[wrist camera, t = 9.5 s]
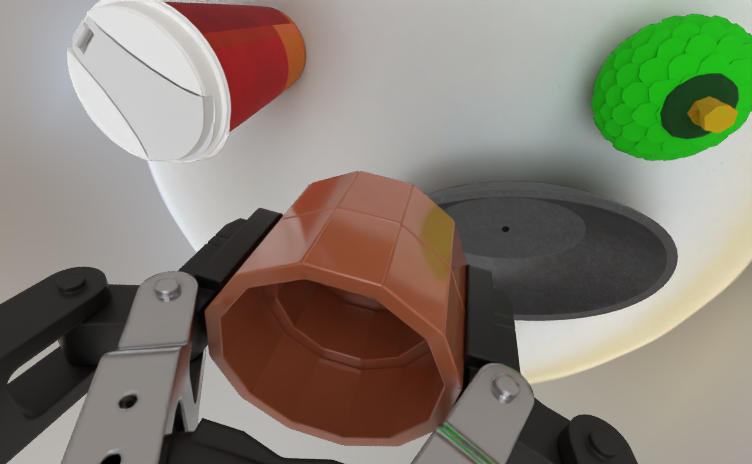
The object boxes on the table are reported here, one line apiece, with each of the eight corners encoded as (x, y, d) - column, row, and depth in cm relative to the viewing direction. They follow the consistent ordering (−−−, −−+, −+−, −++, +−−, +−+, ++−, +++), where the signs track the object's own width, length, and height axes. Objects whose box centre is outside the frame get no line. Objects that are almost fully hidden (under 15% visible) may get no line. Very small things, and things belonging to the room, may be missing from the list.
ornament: (729, 98, 26) (846, 149, 18) (601, 154, 30) (649, 218, 22) (698, -20, 23) (820, -23, 15) (561, 58, 27) (599, 90, 19)
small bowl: (286, 289, 15) (214, 405, 11) (293, 145, 12) (194, 233, 7) (436, 333, 14) (421, 471, 10) (490, 194, 11) (499, 318, 7)
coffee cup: (204, 41, 32) (32, 77, 19) (265, -39, 28) (96, -58, 15) (276, 122, 34) (165, 200, 22) (342, 60, 30) (250, 112, 18)
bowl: (379, 156, 34) (361, 187, 29) (665, 154, 29) (705, 191, 24) (388, 267, 40) (376, 308, 35) (624, 281, 35) (650, 331, 30)
